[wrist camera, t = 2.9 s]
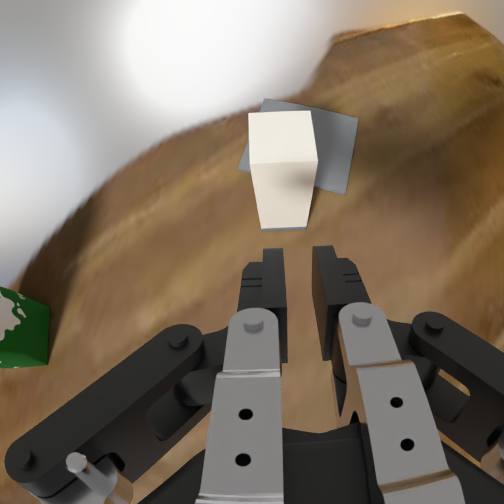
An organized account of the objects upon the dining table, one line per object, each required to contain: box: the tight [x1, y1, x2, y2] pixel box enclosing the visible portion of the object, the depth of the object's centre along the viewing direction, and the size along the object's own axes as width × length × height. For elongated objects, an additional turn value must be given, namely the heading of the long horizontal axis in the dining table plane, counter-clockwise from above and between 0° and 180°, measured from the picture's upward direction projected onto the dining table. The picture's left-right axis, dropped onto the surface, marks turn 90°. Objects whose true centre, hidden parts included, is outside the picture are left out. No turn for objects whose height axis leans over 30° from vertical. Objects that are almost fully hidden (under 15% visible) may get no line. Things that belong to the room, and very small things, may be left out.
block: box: [249, 111, 318, 231], centre depth 28 cm, size 4×4×13 cm
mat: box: [238, 99, 358, 195], centre depth 36 cm, size 11×12×1 cm
